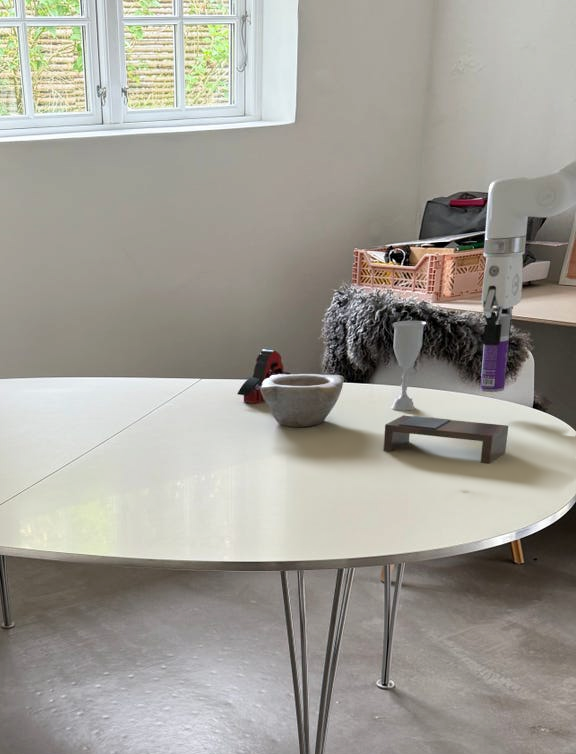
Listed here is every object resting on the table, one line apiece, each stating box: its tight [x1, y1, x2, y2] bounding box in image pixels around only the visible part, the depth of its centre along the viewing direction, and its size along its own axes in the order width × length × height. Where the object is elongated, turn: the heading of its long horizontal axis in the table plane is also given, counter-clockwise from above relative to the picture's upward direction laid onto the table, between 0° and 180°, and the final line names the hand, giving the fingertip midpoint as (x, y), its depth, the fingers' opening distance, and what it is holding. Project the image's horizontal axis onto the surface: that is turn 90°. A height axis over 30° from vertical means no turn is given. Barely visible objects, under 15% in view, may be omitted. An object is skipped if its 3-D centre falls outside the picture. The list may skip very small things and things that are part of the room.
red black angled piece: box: [236, 349, 291, 404], centre depth 226 cm, size 18×4×11 cm, turn 129°
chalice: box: [390, 320, 427, 412], centre depth 206 cm, size 7×7×18 cm
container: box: [479, 313, 511, 393], centre depth 196 cm, size 5×5×15 cm
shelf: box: [383, 414, 509, 464], centre depth 176 cm, size 20×8×5 cm, turn 50°
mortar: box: [261, 373, 345, 428], centre depth 203 cm, size 17×17×9 cm
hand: (496, 341), depth 195 cm, fingers closed on container, 4 cm apart
